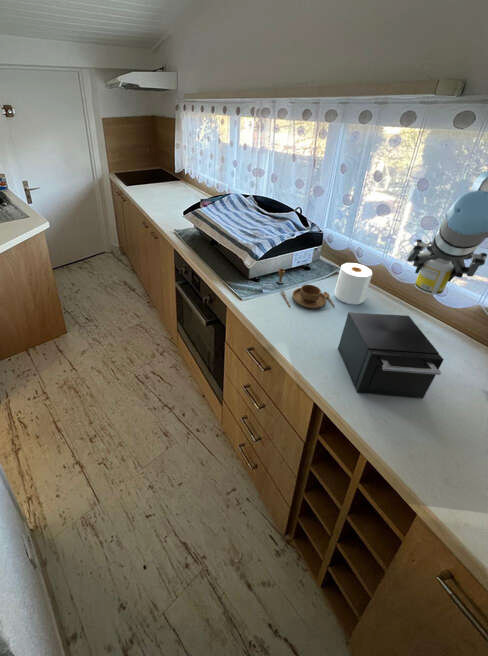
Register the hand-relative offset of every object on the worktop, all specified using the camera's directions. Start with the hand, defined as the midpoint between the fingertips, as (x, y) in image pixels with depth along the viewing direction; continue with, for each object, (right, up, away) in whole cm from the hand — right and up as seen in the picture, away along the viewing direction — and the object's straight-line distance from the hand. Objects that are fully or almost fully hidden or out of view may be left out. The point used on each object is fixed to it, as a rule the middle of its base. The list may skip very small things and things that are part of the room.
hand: (433, 272), depth 86 cm
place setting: (-24, -10, +32) cm, 41 cm away
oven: (-17, -27, 0) cm, 32 cm away
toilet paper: (-8, -11, +30) cm, 33 cm away
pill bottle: (-2, -5, -1) cm, 5 cm away
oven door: (-18, -32, -9) cm, 37 cm away
